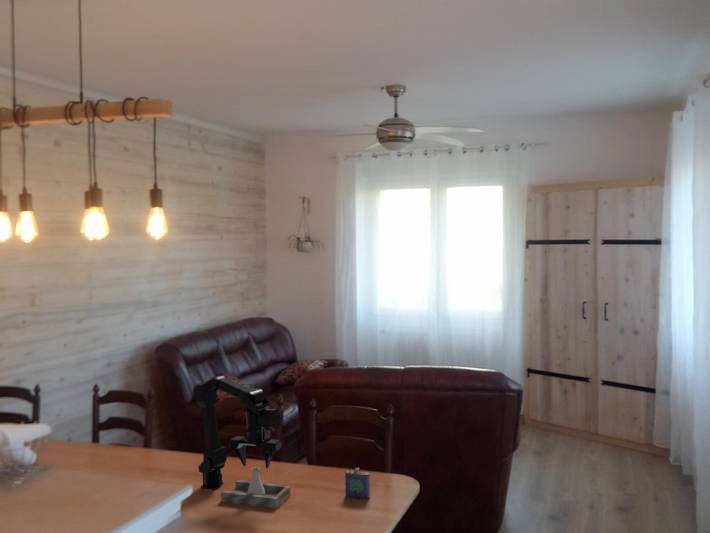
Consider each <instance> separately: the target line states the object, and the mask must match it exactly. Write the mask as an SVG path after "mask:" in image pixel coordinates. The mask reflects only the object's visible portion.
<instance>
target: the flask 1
mask: <svg viewBox="0 0 710 533" xmlns="http://www.w3.org/2000/svg"><path fill="white" fill-rule="evenodd" d="M260 469H261V467H252V468H251V469H250V471H251V480H250V486H249V489H248V492H247V494H255V495H263V496H266V492H265V490H264V487H263V485H262V483H263V482H262V480H261V477H260V476H261V475H260Z"/></svg>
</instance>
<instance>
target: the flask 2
mask: <svg viewBox="0 0 710 533" xmlns="http://www.w3.org/2000/svg"><path fill="white" fill-rule="evenodd" d="M344 474H345V476H344V477H345V478H344V479H345V483H344V484H345V487H344V488H345V489H344V490H345V492H344V493H345V497H347V498H351V499H364V500H366V499H370V498H371V487H370V486H371V484H370V481H371V479H370V477H371V476H370V474H371V473H369V472H363V471H361V472H360V467H355V470H352V469H349V470H346V471H345V473H344Z"/></svg>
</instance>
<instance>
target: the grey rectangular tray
mask: <svg viewBox="0 0 710 533" xmlns="http://www.w3.org/2000/svg"><path fill="white" fill-rule="evenodd" d="M250 482H251V480H250V481H248V480H241V479H240V480H239V479H237V480H235V483H234V484H235V487H234V488H233V489H232V490H231V491H230V490H229V491H228V490H222V491H221V492H220V499H221V500H220V502H222V503H228V504H237V505H243V506H253V507H260V508H265V509H266V508H267V509H275V510H277V509H278V508H279V507H281V505H283V503H285V502H286V501H287V500H288V499H289V498H290V497H291V496H292V494H291V486H290V485H283V484H275V483H266V482H262V485H263V487H264V490H265V492H266V496H263V495H255V494H247V492H248V489H249V486H250Z"/></svg>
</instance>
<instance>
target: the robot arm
mask: <svg viewBox="0 0 710 533" xmlns="http://www.w3.org/2000/svg"><path fill="white" fill-rule="evenodd" d="M219 391H222V392H224V393H226V394H229V395H230V396H233V397H234V398H236V399H238V400H239V402H240V404H242V405H243V406H244V408H242V409H241V412H243V413H246V428H244V431H245V433H246V436H241V435H236V436H234V437H232V438H231V439H230V440H229V442H228V447H229V448H230V449H231V450H232V451H234V452H235V454H236V455H237V457H238V458H239V460H240V462H241V465H242V466H243V467H246V465H247V454H246V449H247V446H248V447H256V448H257V447H259V448H260V447H261V448H264V450H265V451H264V464H265V468H266V470H267V469H269V468H270V465H271V461H272V459H273V458H272V457H273V456H274V454H275V452H277V451H279V450H280V449H281V448H282V440H280V439H273V438H271V439H270V437H271V430H270V429H272V430H277V429H278V428H279V427H280V425H281V423H282V417H281V415H280V413H279V412H278V409H277V408H272V406H271V404H270V402H269V400H268V398H267V397H266V395H265V393H264V391H263V389H260V388H257V387H247V386H245V385H242V384H239V383H237V382H236V381H233V380H231V379H229V378H227V377H225V375H218V376H213V377H212V378H211V379H209V380H208V381H205V382H204V383H202V384H198V385H196V386H195V388H194V389H193V396H194V400H195V403H196V404H197V406H199V407H200V410H201V419H202V425H203V431H204V438H205V440H204V441H205V448H204V450H203V456H202V457H203V458H202V459H203V461H201V463H200V464H199V465H198V466H197V467H198V472H199V473H201V474H202V484H201V486H200V488H201V489H206V490H207V489H209V490H217V489H218V488H219V487H220V486H222V485H224V482H223V473H222V469H224V468H225V464H226V463H227V458H228V454H227V447H226V446H223V445H222V444H221V443H220V437H219V430H218V424H217V416H216V410H215V404H216V402H217V398H218V392H219ZM265 428H268V429H265ZM267 439H268V441H266V440H267Z"/></svg>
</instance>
